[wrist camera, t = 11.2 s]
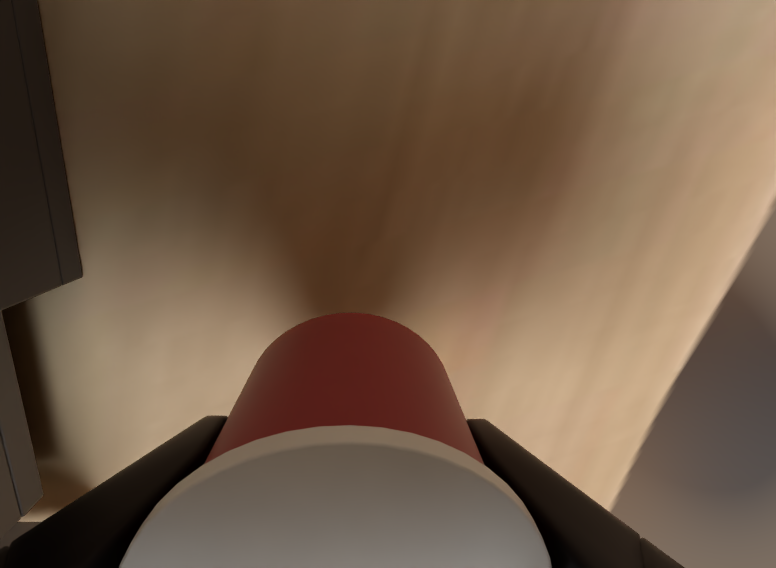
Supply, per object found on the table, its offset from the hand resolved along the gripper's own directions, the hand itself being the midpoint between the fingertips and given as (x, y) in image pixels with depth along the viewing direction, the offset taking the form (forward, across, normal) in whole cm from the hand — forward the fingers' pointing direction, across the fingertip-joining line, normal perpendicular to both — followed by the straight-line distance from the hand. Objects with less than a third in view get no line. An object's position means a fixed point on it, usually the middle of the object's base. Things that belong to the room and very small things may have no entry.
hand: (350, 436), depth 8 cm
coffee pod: (+1, 0, 0) cm, 1 cm away
